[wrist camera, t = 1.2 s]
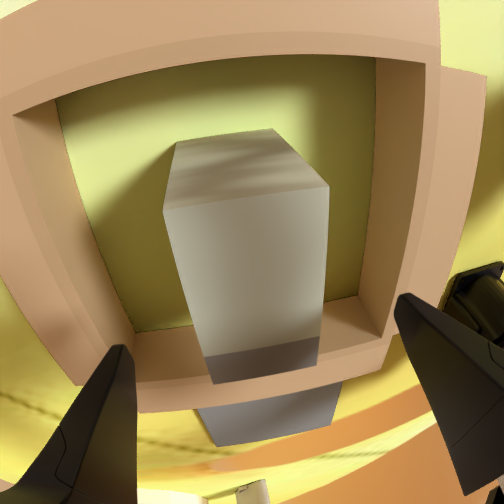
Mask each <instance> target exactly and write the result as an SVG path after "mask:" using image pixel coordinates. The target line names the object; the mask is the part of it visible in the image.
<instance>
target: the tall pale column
mask: <svg viewBox="0 0 504 504" xmlns="http://www.w3.org/2000/svg"><path fill="white" fill-rule="evenodd" d="M235 494H236V499H237V504H270V500H269V495H268V490H267V486H266V481H265V480H264V479H263V480H258V481H255V482H253V483H250V484H248V485H244V486H241V487H239V488H238V490H237V491H235Z"/></svg>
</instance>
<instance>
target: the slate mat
mask: <svg viewBox="0 0 504 504" xmlns="http://www.w3.org/2000/svg"><path fill="white" fill-rule="evenodd" d="M342 382H343V381H340V382H336V383H332V384H328V385H324V386H320V387H316V388H312V389H308V390H303V391H299V392H294V393H290V394H285V395H280V396H275V397H270V398H265V399H259V400H253V401H248V402H241V403H235V404H228V405H222V406H214V407H206V408H198V409H197V410H198V412H199V414H200V416H201V418H202V420H203V422H204V424H205V426H206V428H207V430H208V432H209V434H210V436H211V437H212V439H213V441H214V443H215V445H216V447H222V446H229V445H236V444H243V443H249V442H256V441H261V440H267V439H272V438H277V437H282V436H287V435H292V434H296V433H301V432H305V431H309V430H313V429H317V428H321V427H325V426H329V425H331V422H332V418H333V415H334V412H335V408H336V405H337V401H338V397H339V394H340V390H341V386H342Z"/></svg>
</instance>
